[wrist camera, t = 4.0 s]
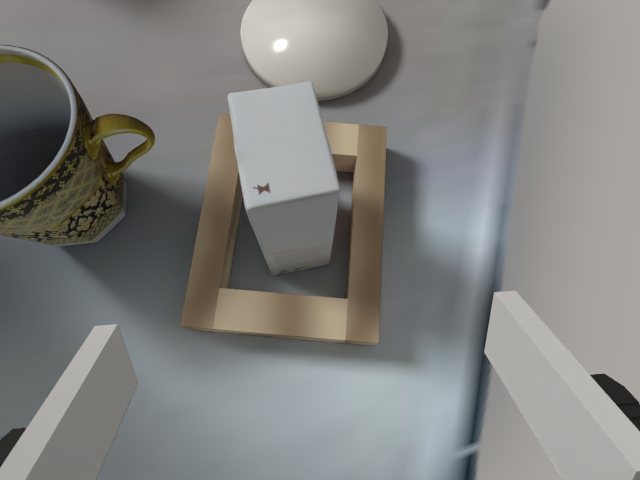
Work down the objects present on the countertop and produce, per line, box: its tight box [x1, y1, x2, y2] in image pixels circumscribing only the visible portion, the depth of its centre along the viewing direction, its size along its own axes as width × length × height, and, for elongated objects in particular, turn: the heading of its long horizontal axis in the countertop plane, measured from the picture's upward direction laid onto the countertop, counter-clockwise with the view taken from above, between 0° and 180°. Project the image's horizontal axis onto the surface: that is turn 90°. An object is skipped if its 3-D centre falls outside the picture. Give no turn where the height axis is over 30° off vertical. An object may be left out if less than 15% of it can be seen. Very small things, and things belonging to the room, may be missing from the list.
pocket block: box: [180, 114, 387, 346], centre depth 28 cm, size 12×15×2 cm
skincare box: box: [228, 81, 340, 276], centre depth 24 cm, size 6×4×12 cm
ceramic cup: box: [0, 45, 155, 246], centre depth 25 cm, size 13×10×10 cm
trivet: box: [241, 0, 388, 101], centre depth 34 cm, size 12×12×1 cm
